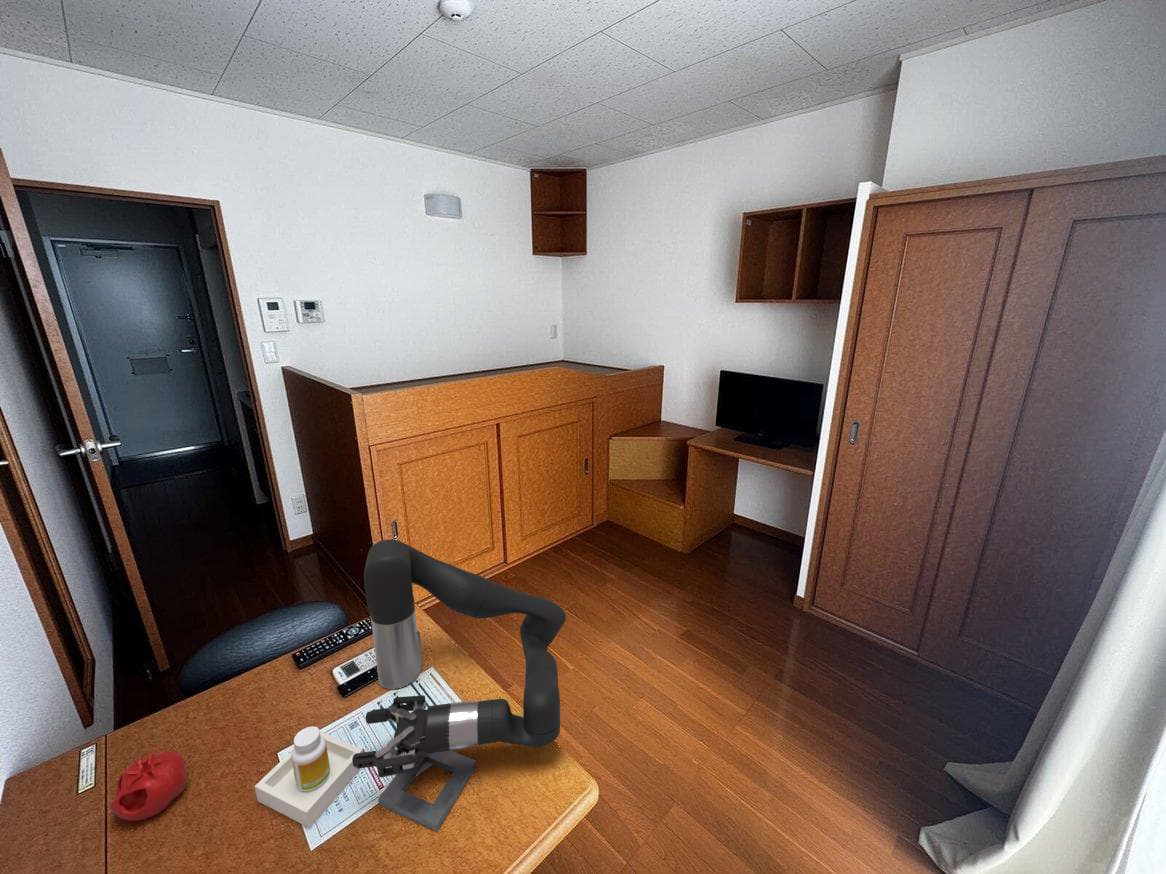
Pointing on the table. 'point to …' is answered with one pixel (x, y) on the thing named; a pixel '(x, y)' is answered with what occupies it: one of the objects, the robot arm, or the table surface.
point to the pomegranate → (149, 785)
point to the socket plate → (437, 811)
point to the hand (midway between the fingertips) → (360, 738)
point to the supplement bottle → (310, 759)
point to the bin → (308, 805)
